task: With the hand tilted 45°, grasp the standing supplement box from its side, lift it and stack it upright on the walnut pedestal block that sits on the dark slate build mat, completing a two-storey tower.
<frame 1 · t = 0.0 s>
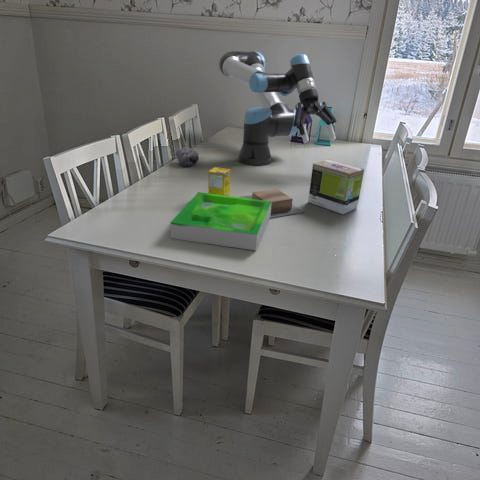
hand: (320, 141, 171), 15 cm above the table, tool tilted 35°, fingers open, 13 cm apart
pumice stone: (186, 165, 184), on the table
tray: (224, 226, 130), on the table, touching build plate
tea box: (332, 205, 150), on the table
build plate: (271, 207, 145), on the table
supplement box: (218, 200, 149), on the table
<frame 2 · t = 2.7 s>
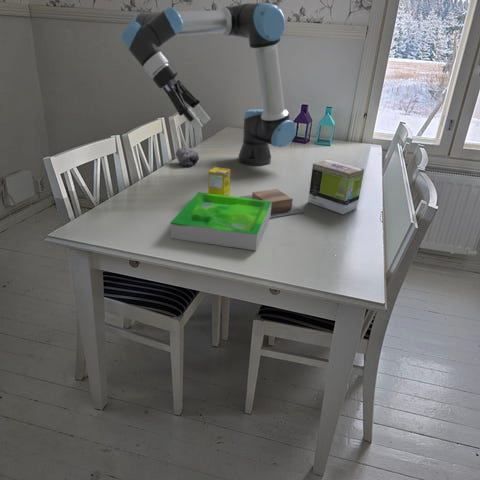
hand: (203, 125, 139), 26 cm above the table, tool tilted 40°, fingers open, 13 cm apart
nothing on the table moved.
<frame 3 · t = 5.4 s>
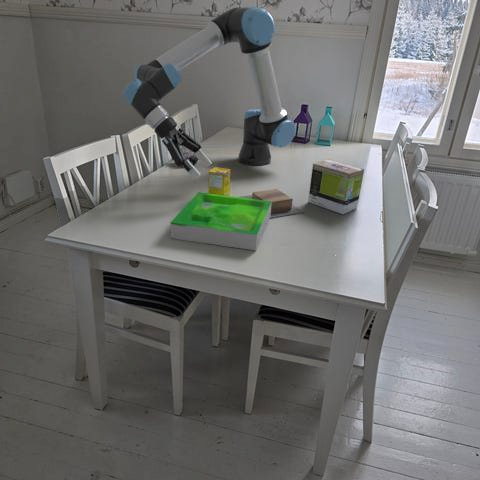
hand: (203, 171, 145), 10 cm above the table, tool tilted 45°, fingers open, 13 cm apart
nothing on the table moved.
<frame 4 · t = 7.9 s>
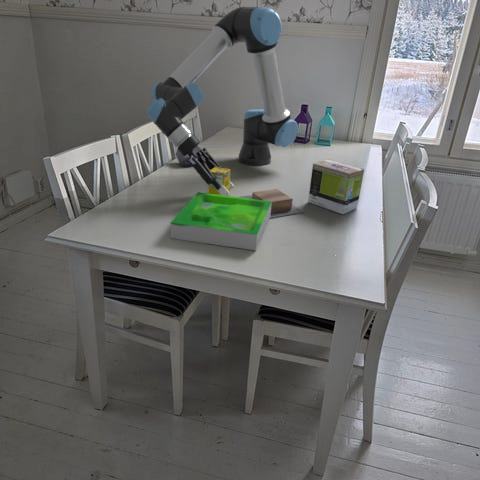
hand: (228, 191, 147), 3 cm above the table, tool tilted 45°, fingers closed on supplement box, 6 cm apart
supplement box: (218, 200, 149), on the table, touching gripper
everything else where it was.
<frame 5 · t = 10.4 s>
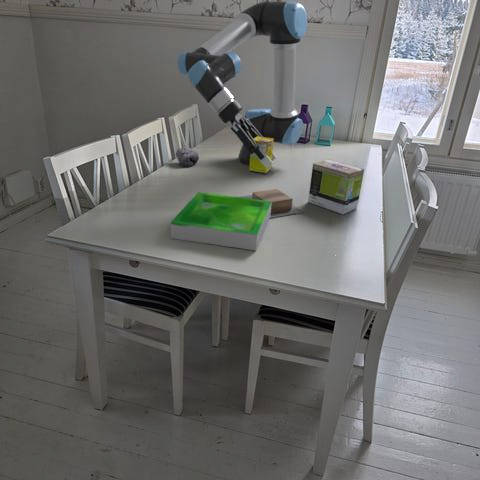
hand: (271, 162, 137), 16 cm above the table, tool tilted 45°, fingers closed on supplement box, 6 cm apart
supplement box: (260, 172, 140), point 12 cm above the table, touching gripper
everything else where it was.
when the fingers open (9 cm above the table, at t = 12.8 s): supplement box drops 1 cm, resting on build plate.
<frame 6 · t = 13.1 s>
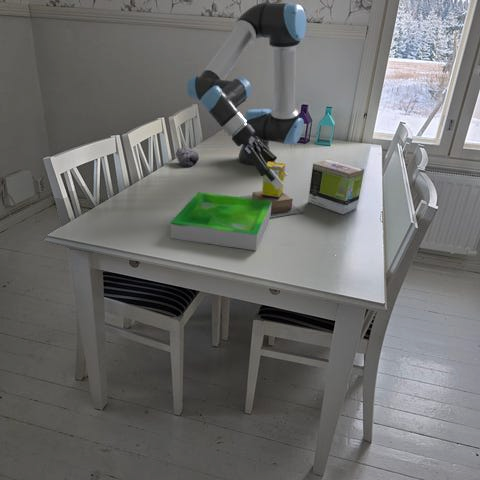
hand: (282, 181, 140), 10 cm above the table, tool tilted 45°, fingers open, 10 cm apart
supplement box: (272, 195, 144), point 4 cm above the table, touching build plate
everything else where it was.
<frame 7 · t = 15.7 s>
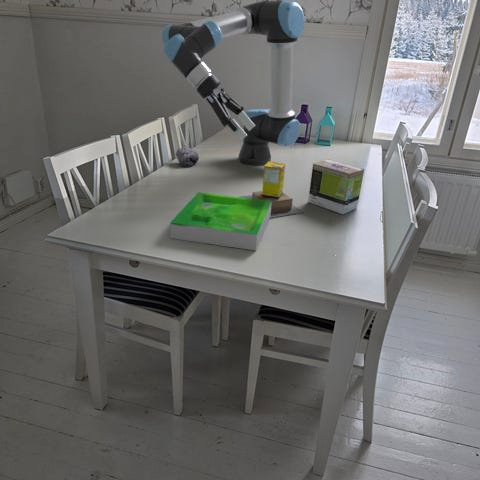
hand: (248, 133, 137), 24 cm above the table, tool tilted 45°, fingers open, 13 cm apart
nothing on the table moved.
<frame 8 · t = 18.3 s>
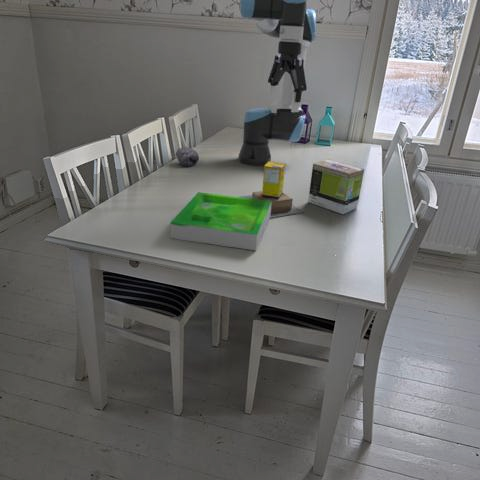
hand: (283, 108, 146), 31 cm above the table, tool pointing down, fingers open, 13 cm apart
nothing on the table moved.
at the end: supplement box 0.3 cm from the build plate (horizontally); supplement box point 4.2 cm above the table; supplement box tilted 0° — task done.
